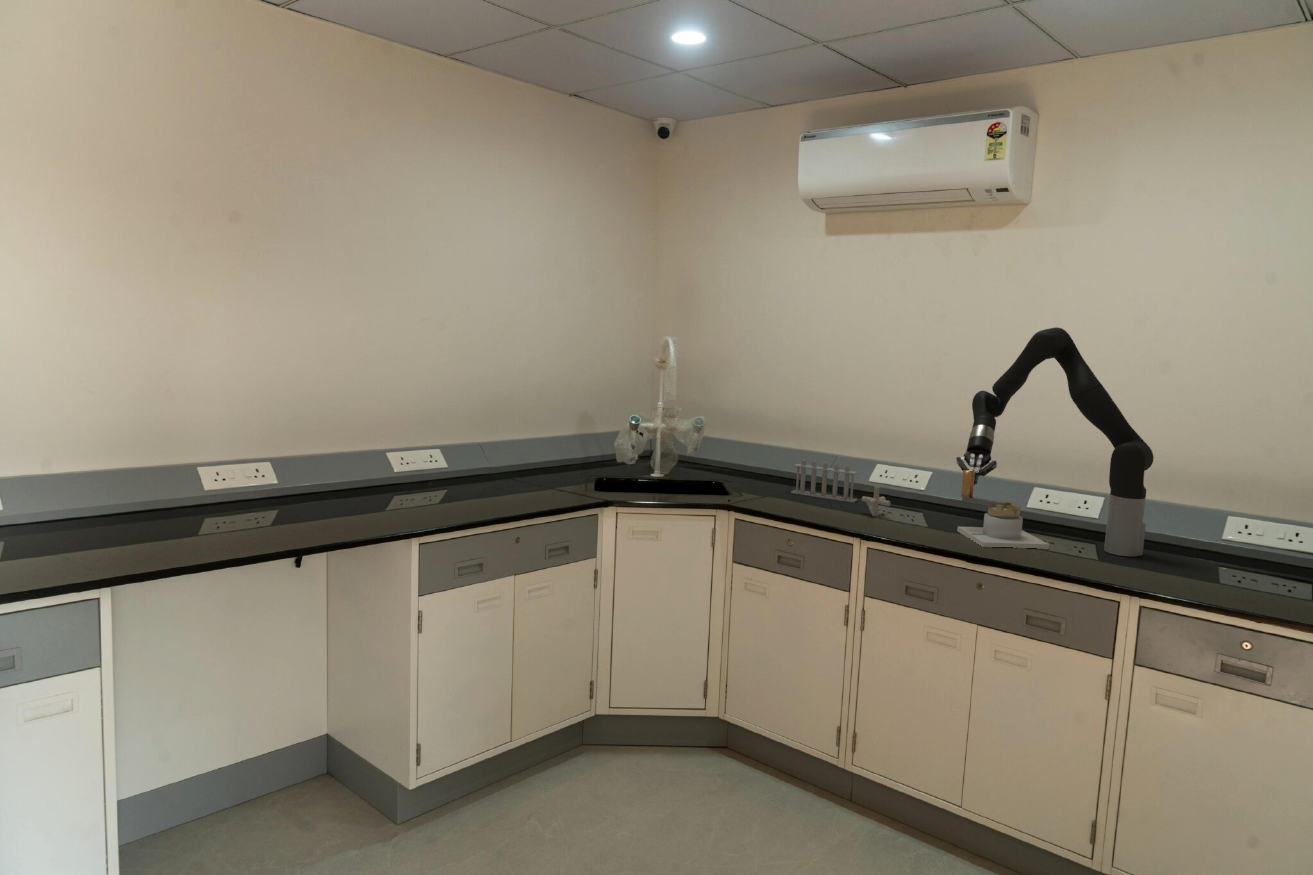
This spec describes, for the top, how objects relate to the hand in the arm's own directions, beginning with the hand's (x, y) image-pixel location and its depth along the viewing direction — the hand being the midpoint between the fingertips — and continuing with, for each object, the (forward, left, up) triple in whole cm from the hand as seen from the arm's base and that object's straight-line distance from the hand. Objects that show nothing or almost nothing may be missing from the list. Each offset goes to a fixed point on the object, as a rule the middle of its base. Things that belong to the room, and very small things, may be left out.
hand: (971, 484), depth 272 cm
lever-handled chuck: (-3, +7, -8) cm, 11 cm away
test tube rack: (+36, -50, -16) cm, 63 cm away
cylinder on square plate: (-7, +10, -15) cm, 20 cm away
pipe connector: (+24, -20, -16) cm, 35 cm away
